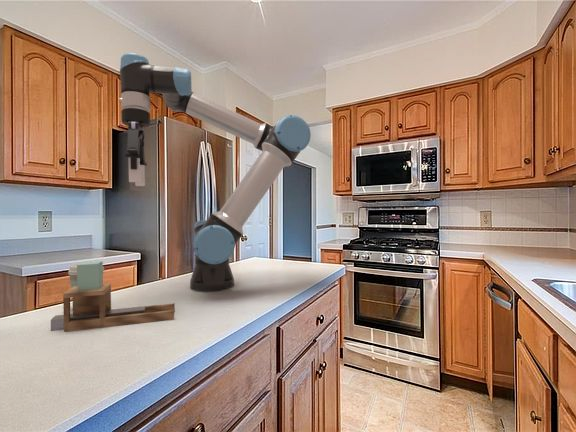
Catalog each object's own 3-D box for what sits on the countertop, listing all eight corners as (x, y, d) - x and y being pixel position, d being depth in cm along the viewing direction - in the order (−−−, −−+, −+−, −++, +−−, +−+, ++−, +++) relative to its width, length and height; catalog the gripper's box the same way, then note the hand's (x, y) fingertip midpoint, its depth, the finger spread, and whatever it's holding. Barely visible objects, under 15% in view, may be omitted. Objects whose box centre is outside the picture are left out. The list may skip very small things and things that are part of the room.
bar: (145, 317, 80) (145, 306, 80) (144, 321, 77) (144, 309, 77) (55, 327, 73) (55, 315, 73) (50, 332, 70) (50, 320, 70)
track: (174, 310, 84) (174, 279, 83) (174, 319, 77) (173, 284, 77) (74, 321, 76) (73, 286, 76) (63, 331, 70) (63, 293, 70)
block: (102, 285, 77) (102, 261, 77) (98, 289, 73) (98, 263, 73) (83, 287, 76) (82, 262, 75) (77, 291, 72) (77, 264, 71)
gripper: (127, 121, 102) (129, 187, 102) (112, 94, 78) (115, 179, 78) (153, 123, 104) (154, 187, 104) (145, 97, 81) (147, 180, 81)
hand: (137, 184), depth 91 cm, fingers open, 13 cm apart
